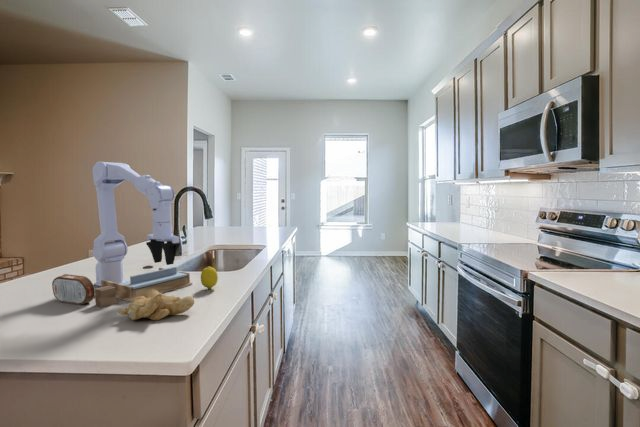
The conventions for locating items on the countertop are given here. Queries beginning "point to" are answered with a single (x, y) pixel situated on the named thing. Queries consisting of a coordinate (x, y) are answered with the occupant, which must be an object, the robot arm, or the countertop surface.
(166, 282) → the wooden tray
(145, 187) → the robot arm
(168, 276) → the lid
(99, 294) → the block
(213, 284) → the lemon
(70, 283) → the tin
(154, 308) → the ginger root
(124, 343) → the countertop surface
